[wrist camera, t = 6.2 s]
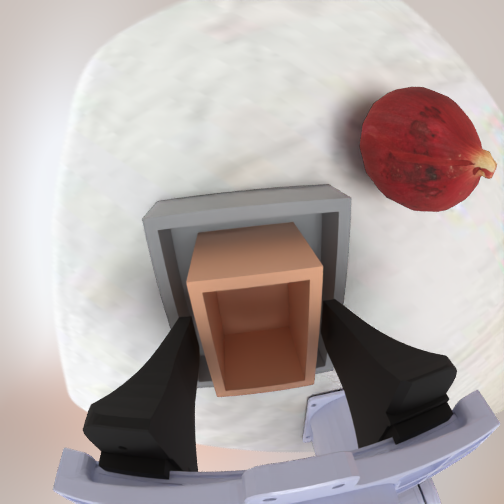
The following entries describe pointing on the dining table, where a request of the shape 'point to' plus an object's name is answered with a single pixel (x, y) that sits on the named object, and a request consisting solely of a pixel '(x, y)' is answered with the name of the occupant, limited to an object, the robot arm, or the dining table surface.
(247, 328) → the small crate
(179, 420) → the robot arm
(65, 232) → the dining table surface
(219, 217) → the big crate
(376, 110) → the onion
